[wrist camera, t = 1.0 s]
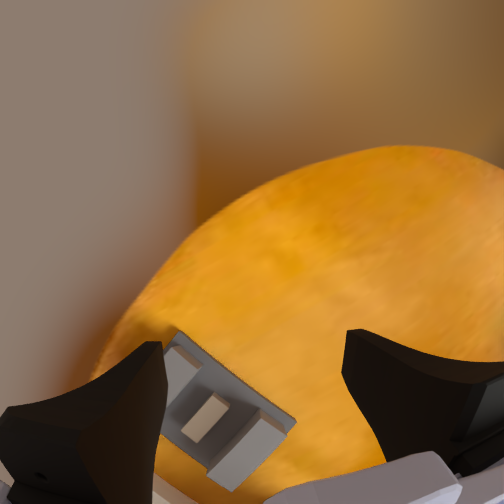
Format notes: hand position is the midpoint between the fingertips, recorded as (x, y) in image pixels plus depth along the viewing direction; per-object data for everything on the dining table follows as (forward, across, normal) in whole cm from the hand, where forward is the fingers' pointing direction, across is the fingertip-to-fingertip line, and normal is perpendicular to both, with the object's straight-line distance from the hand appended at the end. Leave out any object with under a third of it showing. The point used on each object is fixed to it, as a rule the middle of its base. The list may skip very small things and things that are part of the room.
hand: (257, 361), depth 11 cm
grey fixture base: (+15, +3, +16) cm, 22 cm away
